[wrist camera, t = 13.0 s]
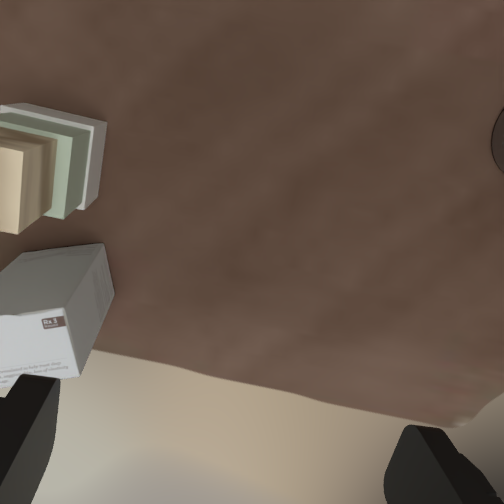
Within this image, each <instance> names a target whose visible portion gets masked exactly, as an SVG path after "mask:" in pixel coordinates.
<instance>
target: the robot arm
mask: <svg viewBox="0 0 504 504" xmlns="http://www.w3.org/2000/svg"><path fill="white" fill-rule="evenodd" d="M492 150H493V156H494V158H495V161H496V163H497V165H498V166H499V168H500V169H501V170H502V171H503V172H504V110H503V111H502V113H501V114H500V116H499V118H498V120H497V122H496V125H495V128H494V132H493V137H492ZM59 394H60V379H59V378H54V377H46V376H39V375H31V374H21V375H20V376H19V377H18V379H17V380H16V382H15V383H14V385H13V386H12V388H11V390H10V391H9V393H8V394H7V396H6V397H5V398H3V397H0V504H31V502H32V500H33V498H34V495H35V493H36V491H37V488H38V486H39V484H40V481H41V479H42V477H43V474H44V472H45V470H46V467H47V465H48V462H49V459H50V456H51V452H52V449H53V444H54V440H55V433H56V423H57V413H58V404H59ZM384 494H385V498H386V501H387V504H504V503H503V502H502V500H501V499H500V498H499V497H497V496H496V492H495V490H494V489H493V487H492V486H491V485H490V483H489V482H488V480H487V479H486V477H485V476H484V475H483V473H482V472H481V471H480V470H479V469H478V468H477V467H475V465H473V464H472V463H471V462H470V461H469V460H468V459H467V458H466V457H465V456H464V455H463V454H460V453H459V452H458V451H457V449H456V448H455V446H454V445H453V443H452V442H451V441H450V439H449V438H448V436H447V435H446V433H445V432H444V431H443V430H441V429H439V428H433V427H425V426H417V425H408V426H406V427H405V428H404V430H403V432H402V434H401V436H400V439H399V441H398V443H397V446H396V448H395V451H394V453H393V455H392V458H391V460H390V462H389V465H388V467H387V469H386V472H385V476H384Z"/></svg>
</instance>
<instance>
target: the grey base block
mask: <svg viewBox="0 0 504 504" xmlns="http://www.w3.org/2000/svg"><path fill="white" fill-rule="evenodd" d="M8 112H13V113H18V114H22V115H26V116H30V117H35V118H39V119H43V120H47V121H52V122H56V123H60V124H64V125H69V126H73V127H77V128H81V129H86V130H90V131H91V134H90V142H89V150H88V159H87V167H86V175H85V183H84V191H83V199H82V203H81V204H80V205H79V206H78V207H77V208H76V209H80V210H85V209H86V208H87V207H88V206H89V205H90V204H91V203H92V202H93V201H94V200H95V199H96V198H97V197H98V191H99V184H100V176H101V168H102V160H103V153H104V145H105V137H106V129H107V122H105V121H101V120H97V119H92V118H88V117H84V116H80V115H75V114H71V113H67V112H62V111H58V110H54V109H50V108H45V107H41V106H37V105H33V104H28V103H17V104H6V105H1V106H0V113H8Z"/></svg>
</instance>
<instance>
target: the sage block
mask: <svg viewBox="0 0 504 504" xmlns="http://www.w3.org/2000/svg"><path fill="white" fill-rule="evenodd" d="M0 127H4V128H9V129H13V130H18V131H23V132H27V133H32V134H36V135H41V136H45V137H50V138H54V139H58V141H57V152H56V164H55V175H54V186H53V197H52V208H51V209H50V210H48V211H47V212H46V213H45V214H43V215H45V216H50V217H55V218H60V219H65V218H66V217H67V216H68V215H69V214H70V213H71V212H72V211H73V210H74V209H76V208H77V207H78V206H79V205H80V204H81V203H82V199H83V191H84V183H85V175H86V167H87V159H88V150H89V142H90V134H91V131H90V130H86V129H81V128H77V127H73V126H69V125H64V124H60V123H56V122H52V121H47V120H43V119H39V118H35V117H30V116H26V115H22V114H18V113H13V112H8V113H0Z"/></svg>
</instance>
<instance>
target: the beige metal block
mask: <svg viewBox="0 0 504 504" xmlns="http://www.w3.org/2000/svg"><path fill="white" fill-rule="evenodd" d="M57 141H58V139H54V138H50V137H45V136H41V135H36V134H32V133H27V132H23V131H18V130H13V129H9V128H4V127H0V231H2V232H8V233H13V234H19V233H20V232H22V231H23V230H24V229H26V228H27V227H28V226H29V225H31V224H32V223H33V222H34V221H36V220H37V219H38V218H40V217H41V216H42V215H43V214H45V213H46V212H47V211H48V210H50V209H51V208H52V197H53V186H54V175H55V164H56V152H57Z"/></svg>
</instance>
